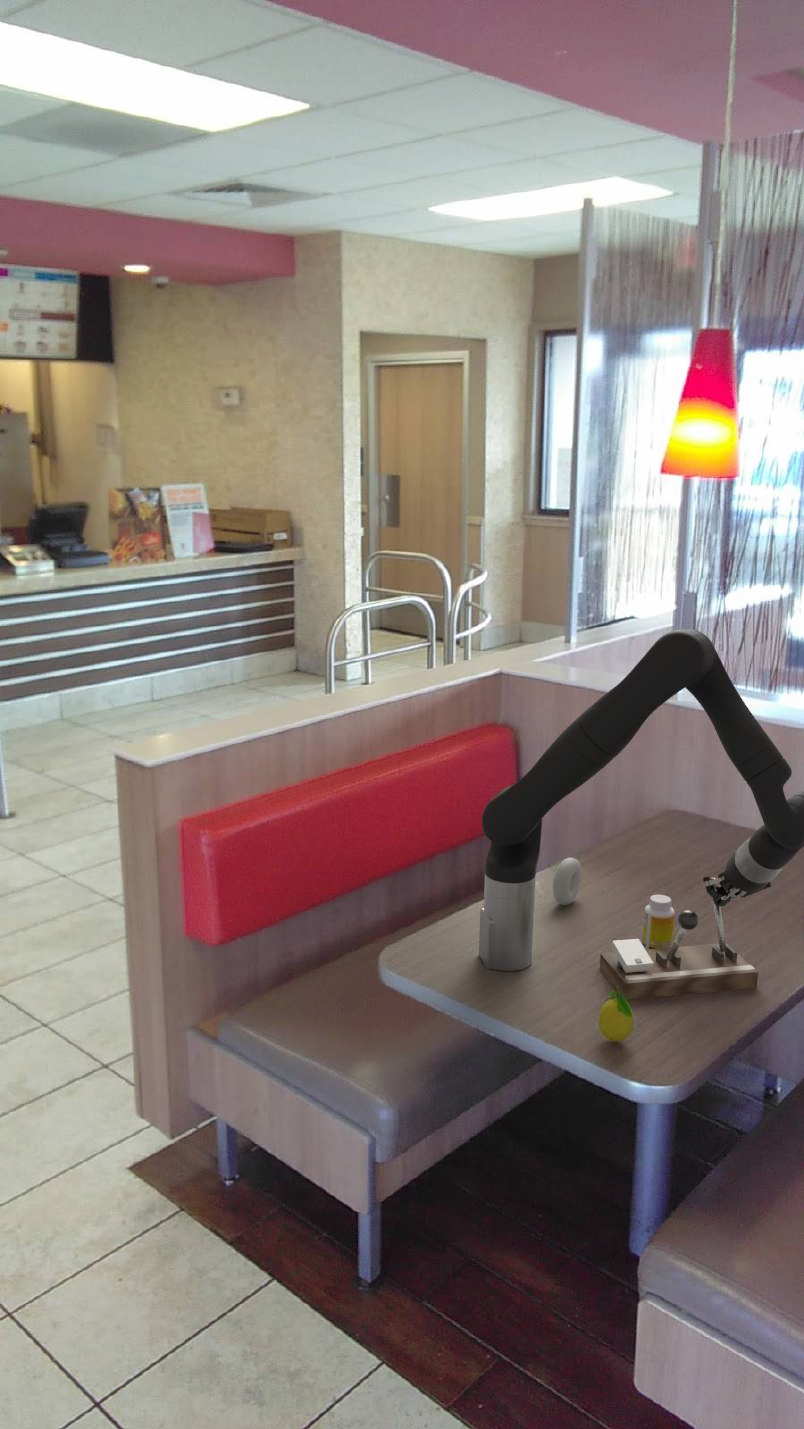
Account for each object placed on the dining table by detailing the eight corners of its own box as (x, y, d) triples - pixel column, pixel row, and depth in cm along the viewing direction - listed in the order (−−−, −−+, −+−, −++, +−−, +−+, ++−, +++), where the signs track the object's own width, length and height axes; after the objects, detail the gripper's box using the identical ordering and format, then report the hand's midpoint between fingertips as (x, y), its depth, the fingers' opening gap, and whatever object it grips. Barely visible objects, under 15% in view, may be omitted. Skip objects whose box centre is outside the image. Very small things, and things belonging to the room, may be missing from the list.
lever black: (663, 967, 200) (685, 922, 191) (657, 951, 203) (678, 906, 194) (681, 965, 201) (703, 921, 192) (674, 949, 203) (696, 905, 194)
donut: (564, 913, 230) (566, 868, 228) (548, 909, 232) (551, 864, 229) (583, 897, 238) (585, 853, 236) (568, 893, 240) (570, 849, 238)
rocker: (625, 972, 197) (627, 964, 197) (611, 947, 204) (612, 940, 203) (652, 970, 198) (653, 962, 198) (637, 945, 205) (638, 937, 204)
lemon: (629, 1056, 178) (633, 999, 175) (593, 1048, 180) (596, 991, 177) (638, 1036, 184) (641, 980, 181) (602, 1028, 186) (605, 973, 183)
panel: (625, 999, 196) (626, 974, 194) (599, 968, 207) (601, 944, 206) (756, 987, 201) (759, 963, 199) (724, 957, 212) (726, 934, 211)
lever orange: (719, 952, 203) (708, 877, 206) (710, 953, 206) (700, 879, 209) (736, 950, 204) (725, 876, 207) (727, 951, 207) (717, 878, 210)
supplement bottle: (678, 950, 214) (682, 901, 212) (655, 957, 212) (659, 906, 209) (658, 939, 219) (661, 890, 217) (636, 945, 216) (639, 896, 214)
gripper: (785, 840, 195) (745, 880, 209) (715, 844, 192) (679, 885, 207) (799, 880, 191) (757, 918, 206) (727, 885, 188) (689, 923, 203)
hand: (718, 901), depth 206 cm, fingers closed
